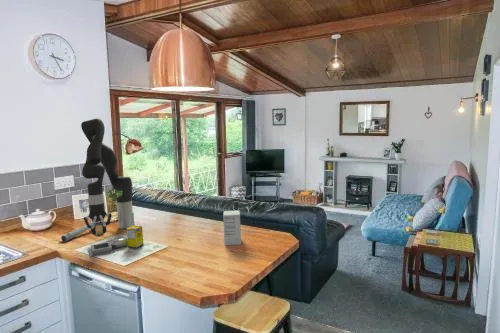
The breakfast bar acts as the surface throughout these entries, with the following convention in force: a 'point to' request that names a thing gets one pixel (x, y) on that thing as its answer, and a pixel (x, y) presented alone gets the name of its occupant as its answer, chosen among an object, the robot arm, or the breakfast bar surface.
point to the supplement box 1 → (135, 236)
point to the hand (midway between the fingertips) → (99, 233)
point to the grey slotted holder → (107, 247)
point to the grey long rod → (75, 233)
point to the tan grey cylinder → (99, 229)
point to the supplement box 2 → (232, 227)
